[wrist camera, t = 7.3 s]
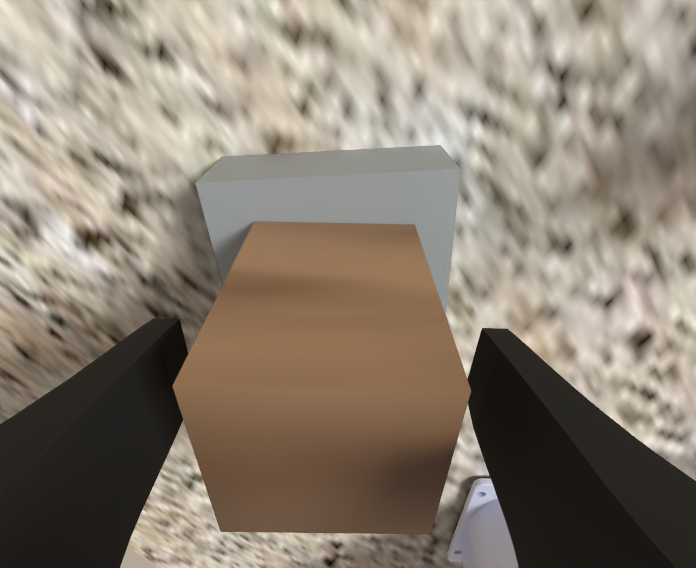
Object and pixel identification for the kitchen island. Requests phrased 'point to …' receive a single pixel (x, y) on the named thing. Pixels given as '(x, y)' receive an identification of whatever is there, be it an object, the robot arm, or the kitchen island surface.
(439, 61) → the kitchen island surface
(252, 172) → the base slab
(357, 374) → the walnut block
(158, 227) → the kitchen island surface
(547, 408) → the robot arm
